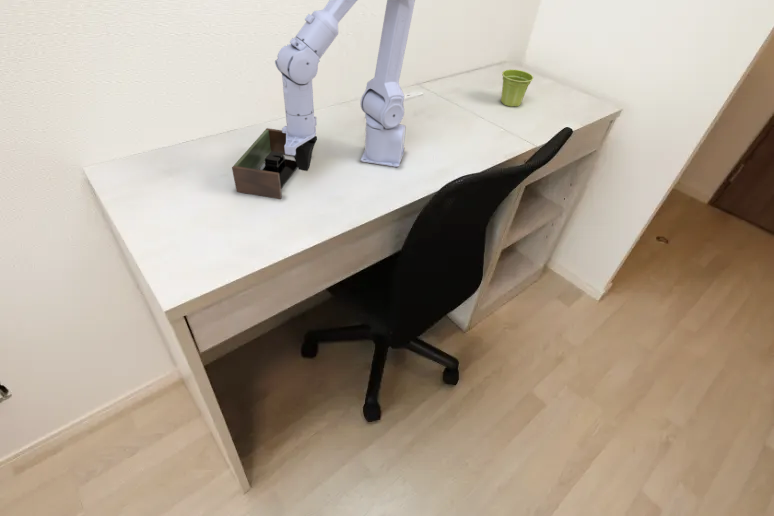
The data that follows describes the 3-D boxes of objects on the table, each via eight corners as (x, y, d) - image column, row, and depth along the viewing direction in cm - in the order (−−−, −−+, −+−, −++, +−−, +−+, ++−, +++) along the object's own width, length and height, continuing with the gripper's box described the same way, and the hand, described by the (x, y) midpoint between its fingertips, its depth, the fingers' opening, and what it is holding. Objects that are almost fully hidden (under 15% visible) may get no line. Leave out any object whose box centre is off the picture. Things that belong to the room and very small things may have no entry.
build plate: (279, 191, 97) (277, 172, 93) (248, 185, 98) (245, 167, 94) (301, 163, 106) (299, 145, 102) (272, 157, 107) (270, 140, 103)
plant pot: (529, 102, 141) (537, 74, 135) (519, 112, 135) (527, 83, 129) (502, 94, 145) (508, 67, 139) (491, 103, 139) (497, 75, 133)
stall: (308, 156, 108) (307, 134, 104) (280, 199, 94) (277, 174, 90) (269, 150, 109) (266, 128, 105) (236, 192, 95) (231, 167, 91)
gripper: (293, 93, 96) (297, 150, 105) (266, 122, 85) (274, 183, 94) (324, 98, 95) (326, 155, 104) (302, 127, 85) (306, 188, 94)
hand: (304, 168), depth 99 cm, fingers closed
